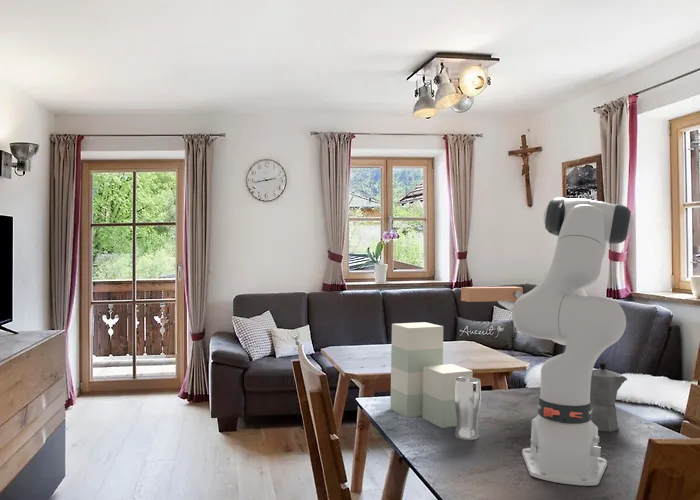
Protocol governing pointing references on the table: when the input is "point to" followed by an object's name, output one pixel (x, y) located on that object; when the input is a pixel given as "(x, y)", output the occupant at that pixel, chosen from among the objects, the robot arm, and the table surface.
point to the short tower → (441, 393)
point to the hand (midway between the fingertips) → (508, 292)
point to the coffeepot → (605, 398)
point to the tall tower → (412, 363)
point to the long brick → (489, 293)
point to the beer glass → (467, 407)
